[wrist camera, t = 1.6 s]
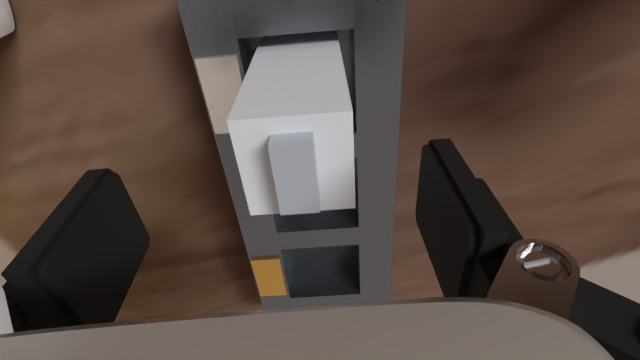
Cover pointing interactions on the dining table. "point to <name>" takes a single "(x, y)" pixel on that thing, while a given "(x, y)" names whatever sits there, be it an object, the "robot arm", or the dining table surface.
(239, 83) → the socket panel
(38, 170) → the dining table surface
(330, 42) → the plug
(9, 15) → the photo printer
